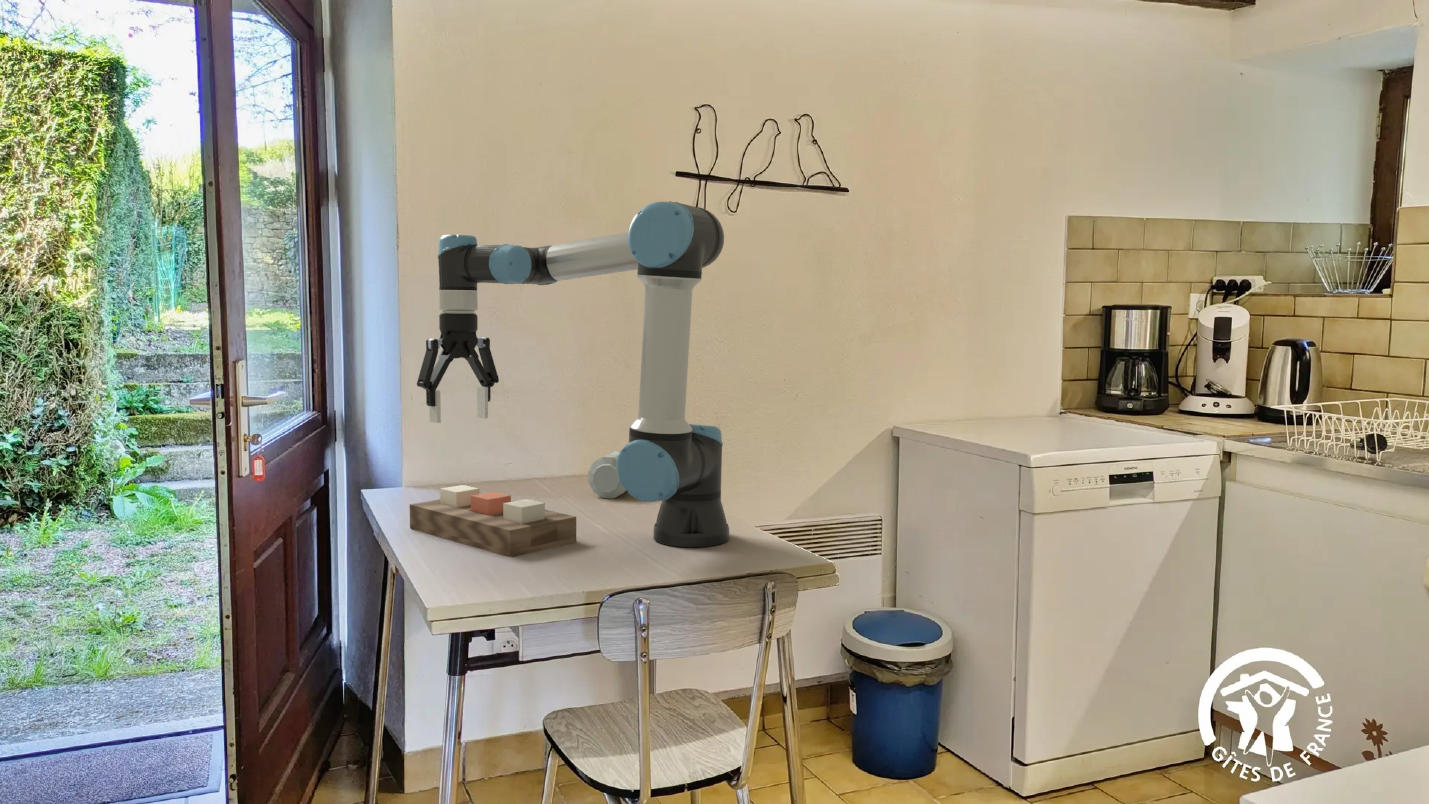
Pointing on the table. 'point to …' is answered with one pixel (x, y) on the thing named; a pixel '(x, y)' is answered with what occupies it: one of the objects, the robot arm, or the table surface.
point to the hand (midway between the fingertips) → (459, 420)
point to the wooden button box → (492, 528)
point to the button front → (523, 511)
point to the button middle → (489, 503)
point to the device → (606, 476)
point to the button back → (457, 495)
